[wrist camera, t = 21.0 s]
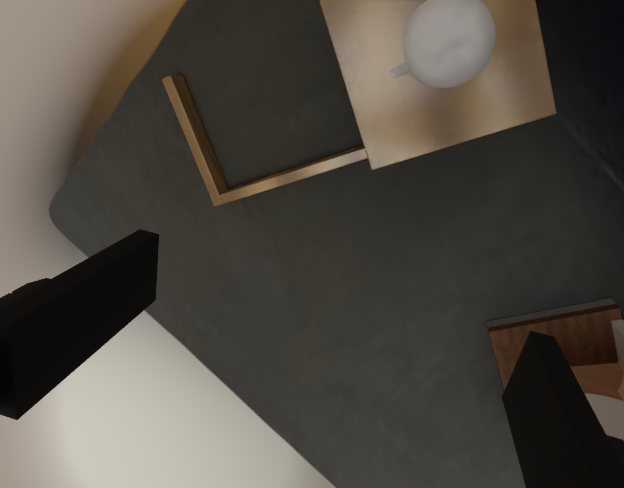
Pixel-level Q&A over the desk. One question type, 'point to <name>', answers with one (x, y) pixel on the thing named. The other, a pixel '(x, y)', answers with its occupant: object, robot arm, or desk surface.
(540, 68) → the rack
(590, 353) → the display case
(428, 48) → the milkshake
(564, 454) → the robot arm
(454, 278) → the desk surface
